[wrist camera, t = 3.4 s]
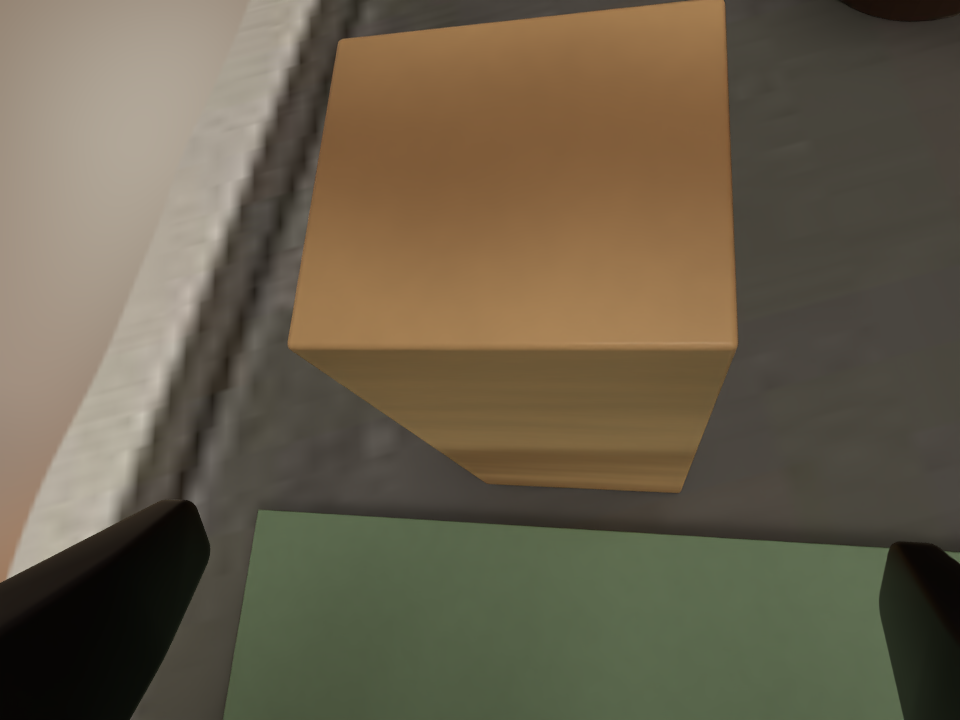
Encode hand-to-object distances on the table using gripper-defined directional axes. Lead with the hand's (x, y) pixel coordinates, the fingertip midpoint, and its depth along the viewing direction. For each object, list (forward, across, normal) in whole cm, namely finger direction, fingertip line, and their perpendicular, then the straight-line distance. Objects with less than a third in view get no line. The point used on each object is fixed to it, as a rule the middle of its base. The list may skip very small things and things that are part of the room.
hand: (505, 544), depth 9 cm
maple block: (+11, 0, +5) cm, 12 cm away
